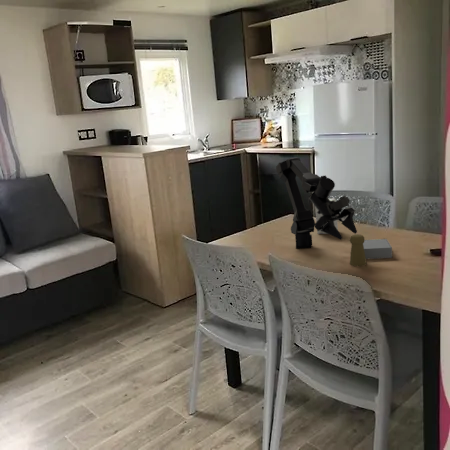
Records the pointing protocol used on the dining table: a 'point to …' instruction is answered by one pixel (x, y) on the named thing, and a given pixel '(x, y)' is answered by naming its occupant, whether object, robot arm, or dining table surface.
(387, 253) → the podium
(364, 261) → the cork
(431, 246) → the dining table surface
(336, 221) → the skincare box
